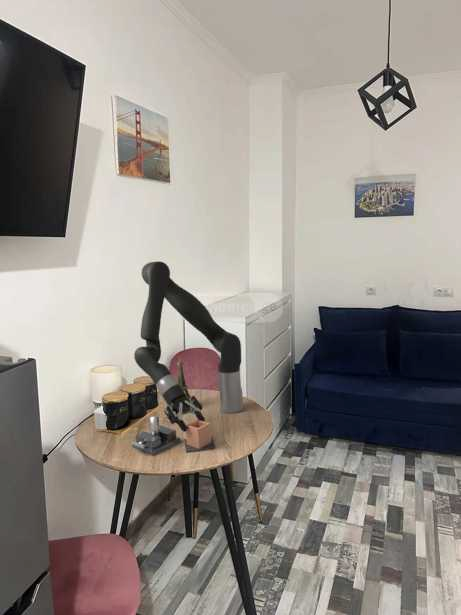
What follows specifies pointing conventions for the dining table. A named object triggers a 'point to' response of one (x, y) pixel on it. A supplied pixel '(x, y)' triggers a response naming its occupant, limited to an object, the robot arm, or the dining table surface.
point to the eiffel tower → (182, 380)
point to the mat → (206, 447)
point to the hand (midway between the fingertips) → (194, 426)
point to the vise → (155, 438)
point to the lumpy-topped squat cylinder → (100, 418)
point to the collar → (198, 434)
